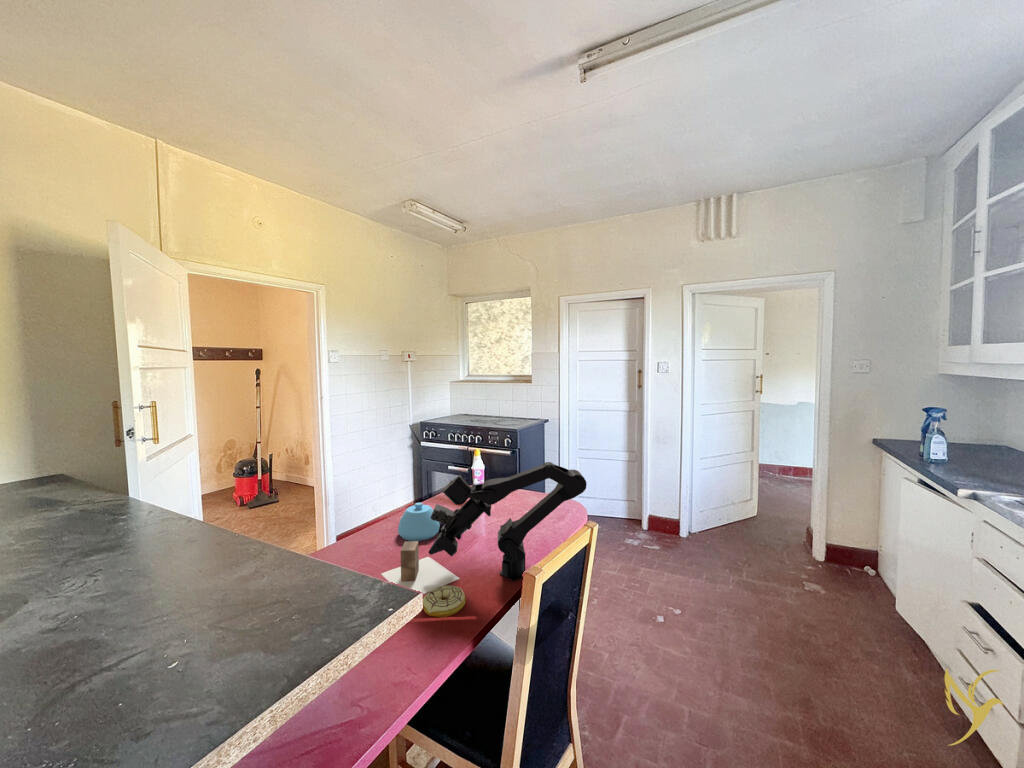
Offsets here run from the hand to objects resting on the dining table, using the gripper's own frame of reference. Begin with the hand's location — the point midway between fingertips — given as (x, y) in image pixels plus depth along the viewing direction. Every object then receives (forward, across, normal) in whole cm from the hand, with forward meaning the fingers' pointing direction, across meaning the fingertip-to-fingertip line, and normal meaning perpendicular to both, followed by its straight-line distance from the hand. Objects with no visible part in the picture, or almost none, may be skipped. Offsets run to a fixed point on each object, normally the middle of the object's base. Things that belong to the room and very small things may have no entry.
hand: (429, 553), depth 118 cm
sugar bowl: (+11, -31, 0) cm, 33 cm away
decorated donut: (+1, +15, +10) cm, 18 cm away
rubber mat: (+7, 0, +3) cm, 8 cm away
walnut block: (+9, 0, +1) cm, 9 cm away
